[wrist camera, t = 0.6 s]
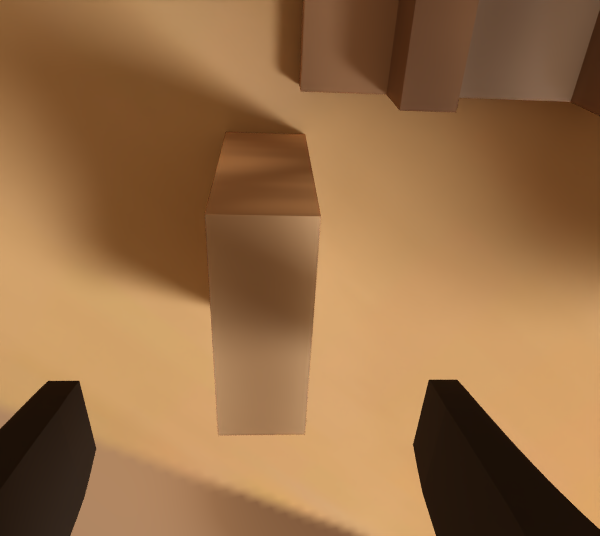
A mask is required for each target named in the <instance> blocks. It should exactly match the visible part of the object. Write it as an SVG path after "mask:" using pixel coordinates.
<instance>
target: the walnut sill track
mask: <svg viewBox="0 0 600 536" xmlns="http://www.w3.org/2000/svg"><path fill="white" fill-rule="evenodd" d="M299 86H300V90H301V91H305V92H333V93H361V94H387V96H388V97H389V98H390V99H391V100H392V102H393V103H394V104H395V105H396V106H397V108H398V109H399V110H402V111H431V112H456V111H457V106H458V101H459V98H480V99H508V100H536V101H564V102H572V103H574V104H576V105H578V106H580V107H582V108H584V109H586V110H589V111H591V112H593V113H595V114H597V115H599V116H600V0H303V13H302V37H301V61H300V84H299Z"/></svg>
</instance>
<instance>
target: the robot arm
mask: <svg viewBox="0 0 600 536" xmlns="http://www.w3.org/2000/svg"><path fill="white" fill-rule="evenodd" d="M413 447H414V452H415V457H416V463H417V468H418V473H419V478H420V483H421V488H422V492H423V496H424V499H425V502H426V505H427V508H428V512H429V515H430V518H431V521H432V524H433V527H434V531H435V534H436V536H600V529H599V528H598V527H596V526H595V525H594V524H593V523H592V522H591V521H590V520H589V519H588V518H587V517H586V516H584V515H583V514H582V513H581V512H580V511H579V510H578V509H577V508H576V507H575V506H574V505H573V504H572V503H571V502H570V501H569V500H568V499H567V498H566V497H565V496H564V495H563V494H562V493H561V492H560V491H559V490H558V489H557V488H556V487H555V486H554V485H553V484H552V483H551V482H550V481H549V480H548V479H547V478H546V477H545V476H544V475H543V474H542V473H541V472H540V471H539V470H538V469H537V468H536V467H535V466H534V465H533V464H532V463H531V462H530V460H529V459H528V458H527V457H526V456H525V455H524V454H523V453H522V452H521V451H520V450H519V449H518V448H517V447H516V446H515V444H514V443H513V442H512V441H511V440H510V439H509V438H508V437H507V436H506V435H505V433H504V432H503V431H502V430H501V429H500V428H499V427H498V426H497V424H496V423H495V422H494V421H493V420H492V419H491V418H490V416H489V415H488V414H487V413H486V412H485V411H484V410H483V408H482V407H481V406H480V405H479V404H478V403H477V402H476V400H475V399H474V398H473V397H472V396H471V395H470V394H469V392H468V391H467V390H466V389H465V388H464V387H463V386H462V385H461V383H460V382H459V381H458V380H429V382H428V386H427V390H426V394H425V398H424V402H423V406H422V410H421V415H420V419H419V423H418V427H417V431H416V435H415V439H414V443H413ZM95 451H96V446H95V442H94V438H93V434H92V430H91V426H90V422H89V418H88V414H87V410H86V406H85V402H84V398H83V394H82V390H81V386H80V382H79V381H48V382H47V383H46V384H45V385H43V386H42V387H41V388H40V389H39V390H38V391H37V392H36V393H35V394H34V395H33V396H32V397H31V398H30V399H29V400H28V401H27V402H26V403H25V404H24V405H23V406H22V407H21V408H20V409H19V410H18V411H17V412H16V413H15V414H14V416H13V417H12V418H11V419H10V420H9V421H8V422H7V423H6V424H5V425H4V426H3V427H2V428H1V429H0V536H70V535H71V532H72V529H73V527H74V524H75V522H76V519H77V516H78V513H79V511H80V508H81V505H82V502H83V500H84V496H85V492H86V489H87V485H88V481H89V477H90V473H91V468H92V464H93V460H94V456H95Z"/></svg>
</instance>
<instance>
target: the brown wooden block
mask: <svg viewBox="0 0 600 536" xmlns="http://www.w3.org/2000/svg"><path fill="white" fill-rule="evenodd" d="M320 222H321V214H320V209H319V204H318V199H317V194H316V188H315V183H314V178H313V173H312V168H311V162H310V157H309V152H308V147H307V141H306V136H305V134H277V133H243V132H226V134H225V137H224V141H223V145H222V149H221V153H220V157H219V161H218V165H217V169H216V173H215V177H214V180H213V184H212V188H211V192H210V196H209V200H208V204H207V208H206V212H205V225H206V242H207V259H208V276H209V293H210V310H211V326H212V343H213V360H214V377H215V394H216V410H217V427H218V435H305V426H306V412H307V399H308V385H309V372H310V358H311V344H312V331H313V317H314V303H315V290H316V276H317V263H318V249H319V235H320Z"/></svg>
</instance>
